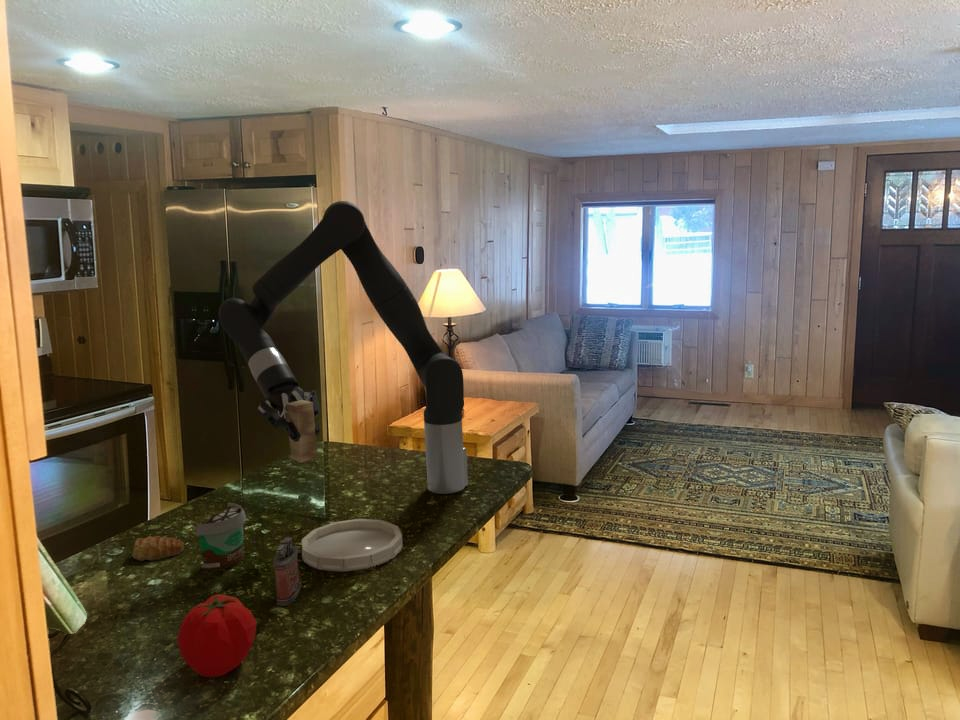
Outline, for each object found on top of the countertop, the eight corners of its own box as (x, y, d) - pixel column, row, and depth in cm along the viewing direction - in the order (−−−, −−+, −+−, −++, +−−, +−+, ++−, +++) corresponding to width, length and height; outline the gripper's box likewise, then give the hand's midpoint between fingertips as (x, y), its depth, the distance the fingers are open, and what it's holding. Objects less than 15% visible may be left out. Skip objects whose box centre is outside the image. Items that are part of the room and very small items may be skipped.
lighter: (285, 584, 140) (281, 532, 138) (304, 583, 140) (299, 532, 138) (272, 605, 132) (267, 551, 131) (292, 605, 132) (287, 550, 130)
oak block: (307, 454, 164) (302, 399, 162) (317, 457, 161) (312, 402, 159) (291, 458, 161) (285, 403, 159) (301, 462, 158) (296, 406, 156)
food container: (230, 576, 144) (224, 526, 143) (200, 574, 145) (195, 525, 144) (261, 549, 156) (256, 502, 154) (233, 548, 157) (228, 501, 156)
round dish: (362, 522, 168) (362, 511, 168) (422, 546, 154) (421, 534, 154) (282, 552, 154) (281, 540, 154) (340, 581, 140) (339, 568, 140)
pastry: (187, 545, 160) (185, 528, 159) (180, 559, 154) (178, 541, 153) (139, 550, 159) (137, 533, 158) (131, 564, 152) (129, 546, 151)
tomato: (172, 694, 108) (164, 627, 106) (190, 647, 120) (183, 586, 118) (254, 684, 109) (247, 618, 108) (263, 638, 122) (258, 578, 120)
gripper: (246, 368, 158) (282, 434, 152) (306, 357, 168) (342, 419, 161) (237, 390, 163) (271, 455, 156) (295, 378, 172) (330, 439, 166)
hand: (307, 436), depth 159 cm, fingers closed on oak block, 4 cm apart
